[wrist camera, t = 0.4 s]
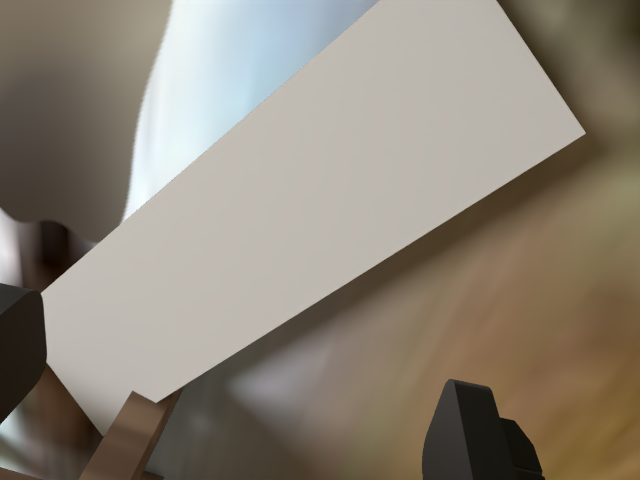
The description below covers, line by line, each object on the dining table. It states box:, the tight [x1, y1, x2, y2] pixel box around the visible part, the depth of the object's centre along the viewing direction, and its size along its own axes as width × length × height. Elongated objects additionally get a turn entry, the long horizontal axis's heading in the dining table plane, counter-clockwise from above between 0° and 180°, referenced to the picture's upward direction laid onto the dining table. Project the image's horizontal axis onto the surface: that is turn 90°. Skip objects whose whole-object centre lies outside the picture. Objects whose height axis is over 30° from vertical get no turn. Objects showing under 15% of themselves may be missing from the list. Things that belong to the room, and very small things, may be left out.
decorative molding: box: [41, 0, 586, 436], centre depth 30 cm, size 34×5×10 cm
